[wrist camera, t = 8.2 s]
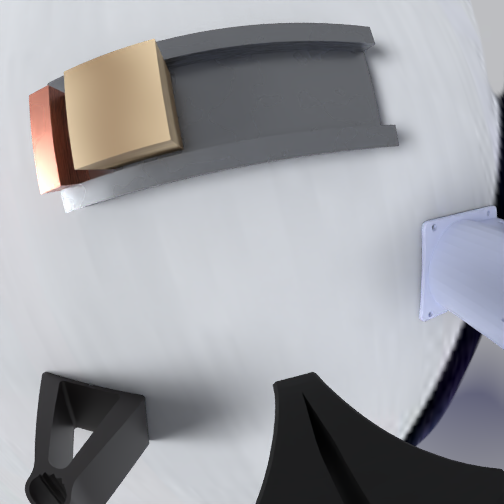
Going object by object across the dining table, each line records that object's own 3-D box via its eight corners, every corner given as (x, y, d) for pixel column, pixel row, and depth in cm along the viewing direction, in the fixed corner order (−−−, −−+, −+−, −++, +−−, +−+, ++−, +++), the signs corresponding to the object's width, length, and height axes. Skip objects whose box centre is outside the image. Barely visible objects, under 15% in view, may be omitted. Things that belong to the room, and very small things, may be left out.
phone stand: (59, 418, 19) (19, 516, 7) (44, 370, 18) (-19, 477, 6) (149, 440, 20) (136, 556, 9) (145, 395, 19) (120, 535, 8)
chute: (351, 41, 14) (386, 13, 10) (376, 147, 16) (420, 144, 12) (66, 92, 13) (28, 74, 9) (84, 206, 15) (46, 219, 11)
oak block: (169, 73, 13) (154, 38, 8) (183, 149, 14) (170, 140, 10) (100, 94, 12) (63, 71, 8) (111, 169, 14) (74, 169, 9)
